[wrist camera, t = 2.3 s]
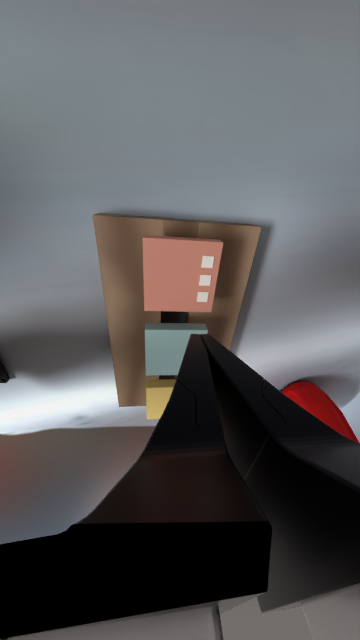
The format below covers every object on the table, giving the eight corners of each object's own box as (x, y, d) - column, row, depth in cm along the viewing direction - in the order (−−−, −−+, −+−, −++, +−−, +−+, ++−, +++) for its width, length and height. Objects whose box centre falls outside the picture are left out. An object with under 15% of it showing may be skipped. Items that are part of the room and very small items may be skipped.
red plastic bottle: (247, 408, 34) (389, 745, 13) (301, 371, 31) (622, 761, 9) (277, 424, 38) (426, 708, 17) (328, 393, 34) (604, 708, 13)
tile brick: (146, 296, 20) (144, 311, 17) (144, 231, 17) (142, 237, 14) (204, 298, 21) (211, 312, 18) (214, 236, 17) (223, 242, 15)
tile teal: (147, 356, 24) (145, 376, 21) (146, 313, 21) (144, 330, 18) (195, 356, 25) (200, 375, 22) (202, 314, 22) (208, 330, 19)
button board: (121, 394, 30) (119, 406, 28) (99, 213, 17) (92, 214, 15) (212, 392, 31) (215, 403, 30) (252, 224, 19) (261, 227, 17)
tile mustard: (147, 399, 28) (146, 419, 25) (147, 368, 25) (146, 388, 22) (189, 398, 29) (192, 418, 26) (194, 368, 26) (198, 387, 23)
